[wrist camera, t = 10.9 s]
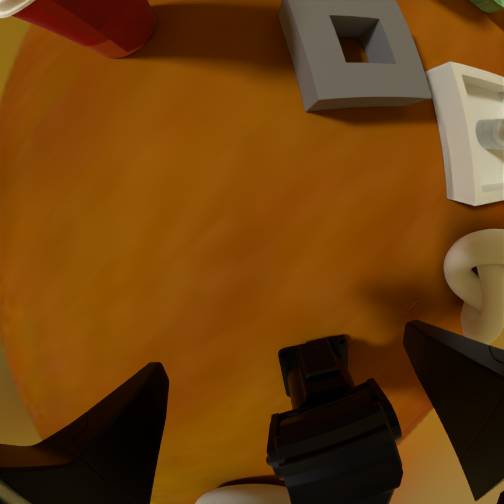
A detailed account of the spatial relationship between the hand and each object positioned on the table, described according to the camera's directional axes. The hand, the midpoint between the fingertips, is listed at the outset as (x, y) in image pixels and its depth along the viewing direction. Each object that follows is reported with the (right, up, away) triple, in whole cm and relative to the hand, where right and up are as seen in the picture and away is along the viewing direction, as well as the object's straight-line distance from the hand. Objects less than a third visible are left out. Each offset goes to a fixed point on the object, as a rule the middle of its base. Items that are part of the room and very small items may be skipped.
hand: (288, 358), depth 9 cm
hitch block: (+6, +19, +8) cm, 21 cm away
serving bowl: (-1, -40, +26) cm, 48 cm away
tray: (+21, +15, +9) cm, 28 cm away
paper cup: (-12, +22, +7) cm, 26 cm away
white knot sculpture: (+22, +2, +14) cm, 26 cm away
